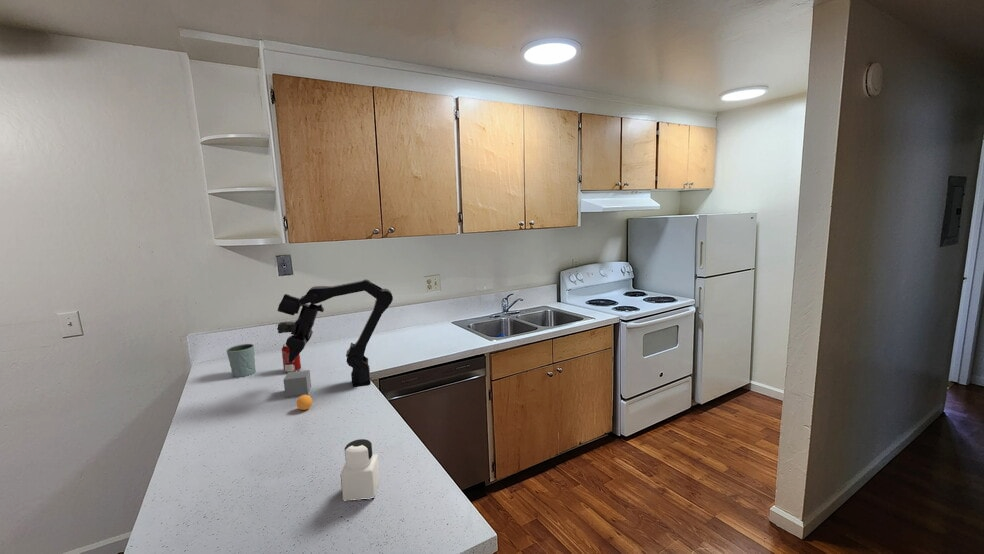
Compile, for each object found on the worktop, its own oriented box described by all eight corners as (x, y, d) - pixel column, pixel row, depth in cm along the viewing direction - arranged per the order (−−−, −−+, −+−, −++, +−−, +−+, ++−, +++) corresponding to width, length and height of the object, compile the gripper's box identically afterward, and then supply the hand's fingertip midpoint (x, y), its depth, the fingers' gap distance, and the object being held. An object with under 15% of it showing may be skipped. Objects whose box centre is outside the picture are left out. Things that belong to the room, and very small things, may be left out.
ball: (314, 405, 147) (312, 391, 146) (311, 411, 142) (310, 397, 141) (298, 407, 146) (297, 393, 145) (295, 413, 141) (294, 399, 140)
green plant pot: (262, 371, 183) (259, 345, 181) (240, 380, 173) (236, 352, 172) (247, 368, 187) (243, 342, 185) (224, 377, 178) (220, 349, 176)
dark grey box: (311, 386, 164) (309, 369, 163) (307, 394, 156) (306, 377, 155) (289, 389, 162) (288, 372, 161) (285, 397, 154) (283, 379, 153)
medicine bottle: (350, 483, 102) (346, 436, 101) (380, 480, 103) (376, 434, 101) (342, 502, 95) (337, 453, 94) (374, 499, 96) (370, 450, 94)
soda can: (294, 373, 178) (291, 346, 176) (280, 373, 180) (277, 346, 178) (304, 368, 185) (301, 341, 183) (291, 367, 186) (288, 341, 184)
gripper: (289, 308, 163) (276, 345, 164) (278, 318, 145) (263, 360, 146) (318, 316, 166) (305, 353, 167) (310, 327, 149) (296, 368, 149)
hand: (292, 358), depth 157 cm, fingers open, 9 cm apart
